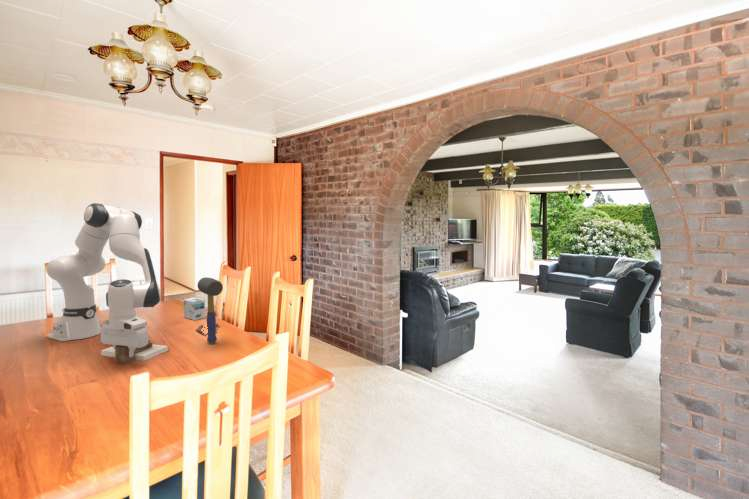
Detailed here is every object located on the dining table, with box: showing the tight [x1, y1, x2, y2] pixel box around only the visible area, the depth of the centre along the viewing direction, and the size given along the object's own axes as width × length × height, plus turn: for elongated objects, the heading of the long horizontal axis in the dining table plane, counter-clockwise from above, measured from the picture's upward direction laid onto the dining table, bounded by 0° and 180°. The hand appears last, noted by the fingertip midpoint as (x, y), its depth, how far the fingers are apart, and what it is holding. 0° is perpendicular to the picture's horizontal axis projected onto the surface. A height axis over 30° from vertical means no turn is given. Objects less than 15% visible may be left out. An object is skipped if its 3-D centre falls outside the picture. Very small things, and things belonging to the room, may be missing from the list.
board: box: [100, 343, 169, 362], centre depth 158 cm, size 22×12×2 cm, turn 75°
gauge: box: [114, 339, 153, 366], centre depth 152 cm, size 4×14×7 cm, turn 165°
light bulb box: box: [183, 297, 207, 321], centre depth 210 cm, size 11×7×11 cm, turn 58°
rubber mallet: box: [197, 276, 224, 345], centre depth 168 cm, size 12×8×30 cm, turn 46°
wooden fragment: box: [195, 323, 220, 337], centre depth 192 cm, size 26×11×1 cm, turn 21°
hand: (125, 355), depth 147 cm, fingers closed on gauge, 4 cm apart
